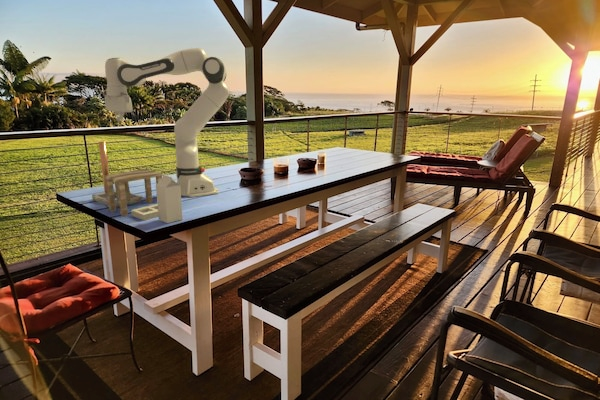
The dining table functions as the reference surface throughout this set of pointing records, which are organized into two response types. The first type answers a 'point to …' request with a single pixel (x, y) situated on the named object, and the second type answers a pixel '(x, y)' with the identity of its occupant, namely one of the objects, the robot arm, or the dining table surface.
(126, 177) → the tunnel
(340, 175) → the dining table surface
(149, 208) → the pit deck
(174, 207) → the milk carton
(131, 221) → the dining table surface
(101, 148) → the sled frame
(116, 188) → the carving
